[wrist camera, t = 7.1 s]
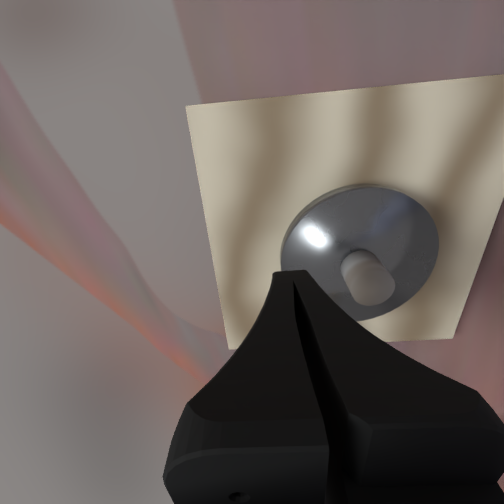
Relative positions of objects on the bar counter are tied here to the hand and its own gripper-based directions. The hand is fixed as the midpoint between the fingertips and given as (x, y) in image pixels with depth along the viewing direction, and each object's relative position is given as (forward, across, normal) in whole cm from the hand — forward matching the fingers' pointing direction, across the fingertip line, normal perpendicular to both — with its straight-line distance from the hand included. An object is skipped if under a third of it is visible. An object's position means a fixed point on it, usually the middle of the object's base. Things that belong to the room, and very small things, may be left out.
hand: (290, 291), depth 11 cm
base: (+10, -5, +3) cm, 11 cm away
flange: (+8, -4, +5) cm, 10 cm away
